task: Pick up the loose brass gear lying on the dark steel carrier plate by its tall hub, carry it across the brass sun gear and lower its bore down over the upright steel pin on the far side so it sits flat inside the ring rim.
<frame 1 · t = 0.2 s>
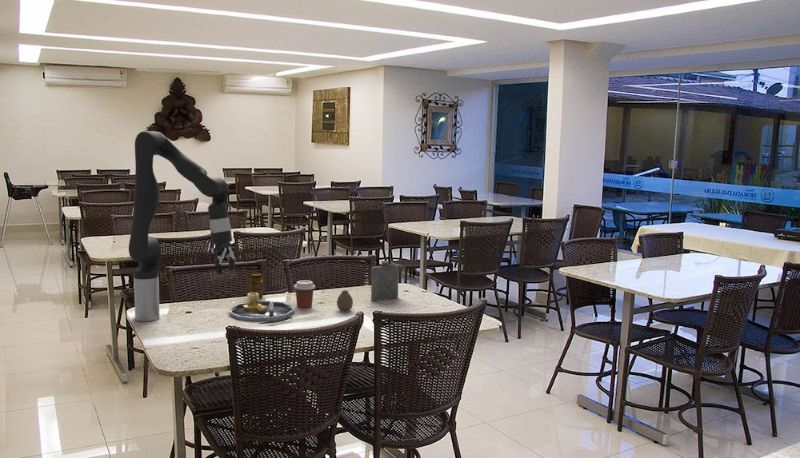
hand: (226, 271, 251), 22 cm above the table, tool pointing down, fingers open, 8 cm apart
planet gear: (253, 308, 278), point 1 cm above the table, touching carrier
carrier: (262, 315, 273), on the table
flask: (384, 299, 305), on the table
brown rounded lump: (344, 311, 284), on the table
condiment: (255, 301, 296), on the table
coffee cup: (304, 309, 285), on the table
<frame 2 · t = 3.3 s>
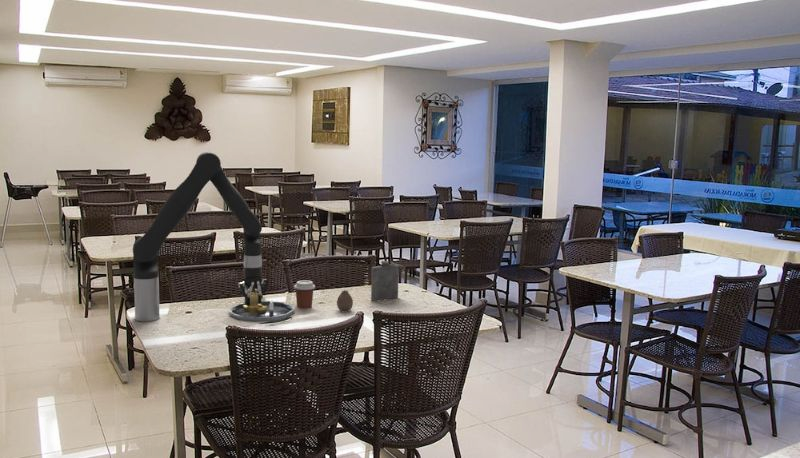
hand: (253, 304, 278), 3 cm above the table, tool pointing down, fingers closed on planet gear, 4 cm apart
planet gear: (253, 308, 278), point 1 cm above the table, touching carrier, gripper
everything else where it was.
when the fingers open (4 cm above the table, at t = 8.5 s): planet gear drops 1 cm, resting on carrier.
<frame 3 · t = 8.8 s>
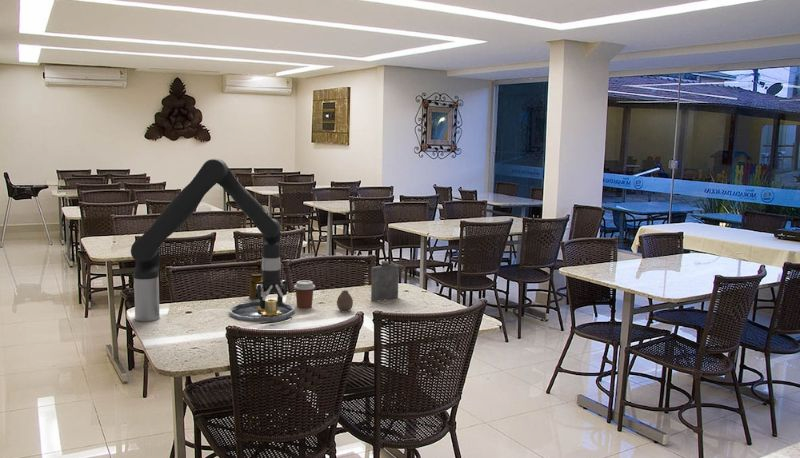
hand: (271, 307, 268), 5 cm above the table, tool pointing down, fingers open, 7 cm apart
planet gear: (271, 315, 268), point 1 cm above the table, touching carrier
everything else where it was.
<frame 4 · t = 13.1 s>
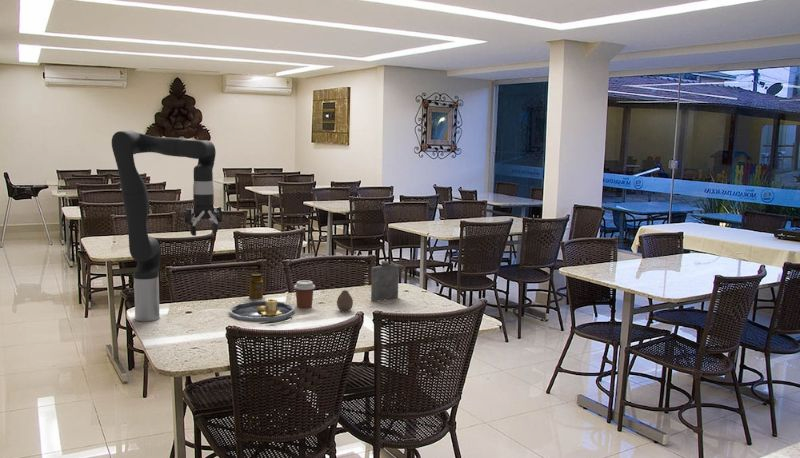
hand: (204, 234, 253), 36 cm above the table, tool pointing down, fingers open, 8 cm apart
nothing on the table moved.
at the end: planet gear 0.0 cm from the target spot on the carrier, point 1.2 cm above the carrier's base; planet gear tilted 0°; the gripper is holding nothing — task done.
